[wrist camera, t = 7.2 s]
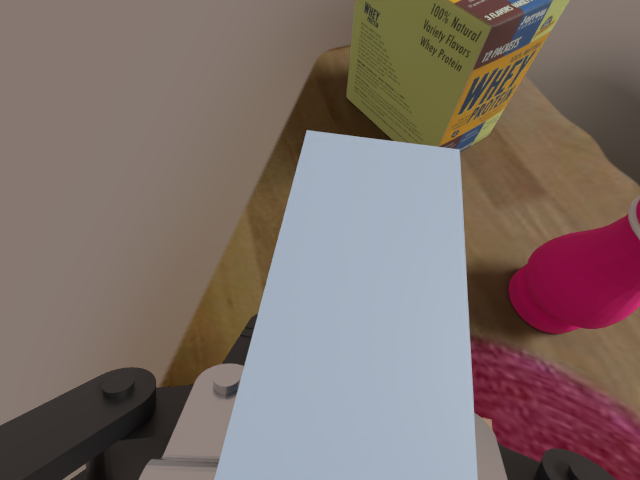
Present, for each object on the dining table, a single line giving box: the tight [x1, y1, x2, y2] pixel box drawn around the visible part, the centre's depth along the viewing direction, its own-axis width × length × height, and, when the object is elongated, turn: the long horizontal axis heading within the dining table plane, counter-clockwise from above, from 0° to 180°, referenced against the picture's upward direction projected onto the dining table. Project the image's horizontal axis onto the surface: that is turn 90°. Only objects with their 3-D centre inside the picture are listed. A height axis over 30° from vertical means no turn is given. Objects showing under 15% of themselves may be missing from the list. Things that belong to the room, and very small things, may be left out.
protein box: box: [346, 0, 569, 152], centre depth 34 cm, size 10×15×16 cm
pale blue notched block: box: [214, 130, 478, 480], centre depth 9 cm, size 9×3×12 cm, turn 170°
